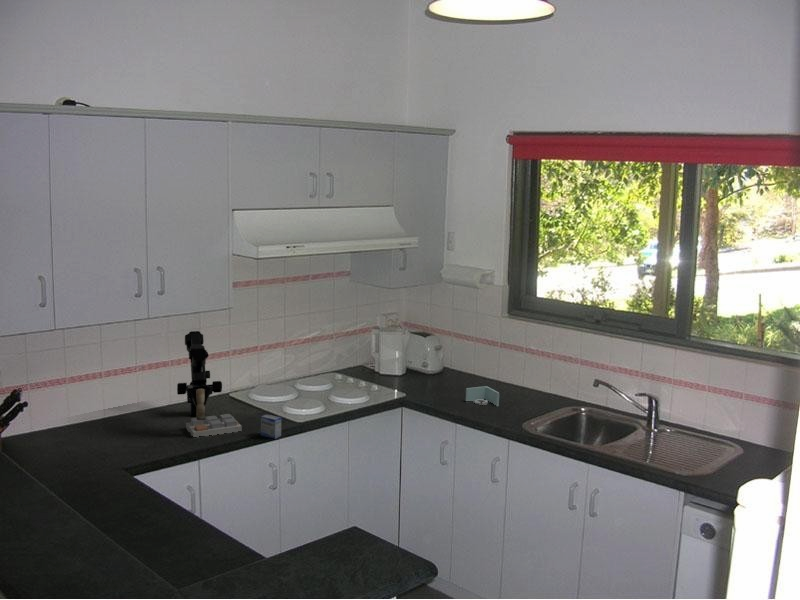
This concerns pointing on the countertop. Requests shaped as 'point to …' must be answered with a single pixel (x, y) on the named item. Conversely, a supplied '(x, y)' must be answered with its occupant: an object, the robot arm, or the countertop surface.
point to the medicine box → (270, 426)
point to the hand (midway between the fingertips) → (200, 405)
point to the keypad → (214, 425)
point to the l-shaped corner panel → (482, 395)
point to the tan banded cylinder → (200, 404)
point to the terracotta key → (200, 428)
